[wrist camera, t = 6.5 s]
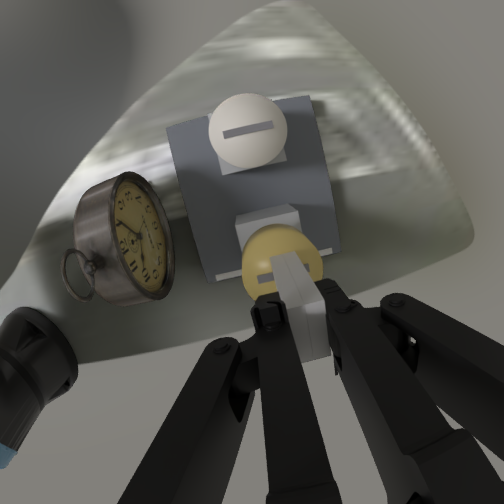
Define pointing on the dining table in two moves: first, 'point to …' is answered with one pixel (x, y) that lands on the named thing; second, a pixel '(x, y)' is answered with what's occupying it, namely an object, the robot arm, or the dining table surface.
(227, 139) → the knob ivory
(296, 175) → the mount
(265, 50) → the dining table surface
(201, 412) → the robot arm
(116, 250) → the alarm clock
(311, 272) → the knob mustard
